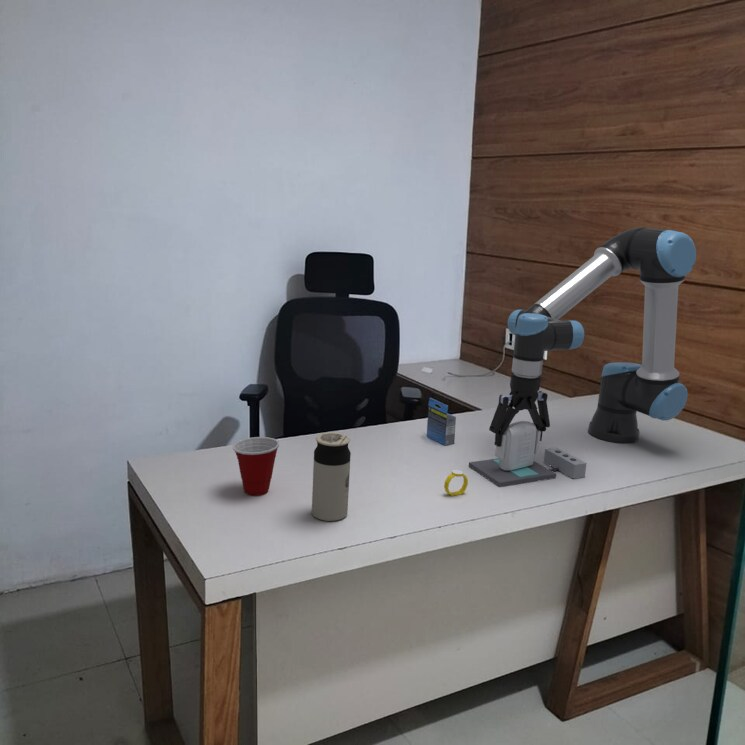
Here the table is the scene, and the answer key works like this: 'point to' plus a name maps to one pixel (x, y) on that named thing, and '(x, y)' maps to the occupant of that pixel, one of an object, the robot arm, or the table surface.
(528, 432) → the photo printer
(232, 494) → the table surface
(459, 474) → the watch
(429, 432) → the label tape box
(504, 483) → the pad
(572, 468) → the power strip
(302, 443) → the table surface
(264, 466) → the plastic cup
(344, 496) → the travel mug
